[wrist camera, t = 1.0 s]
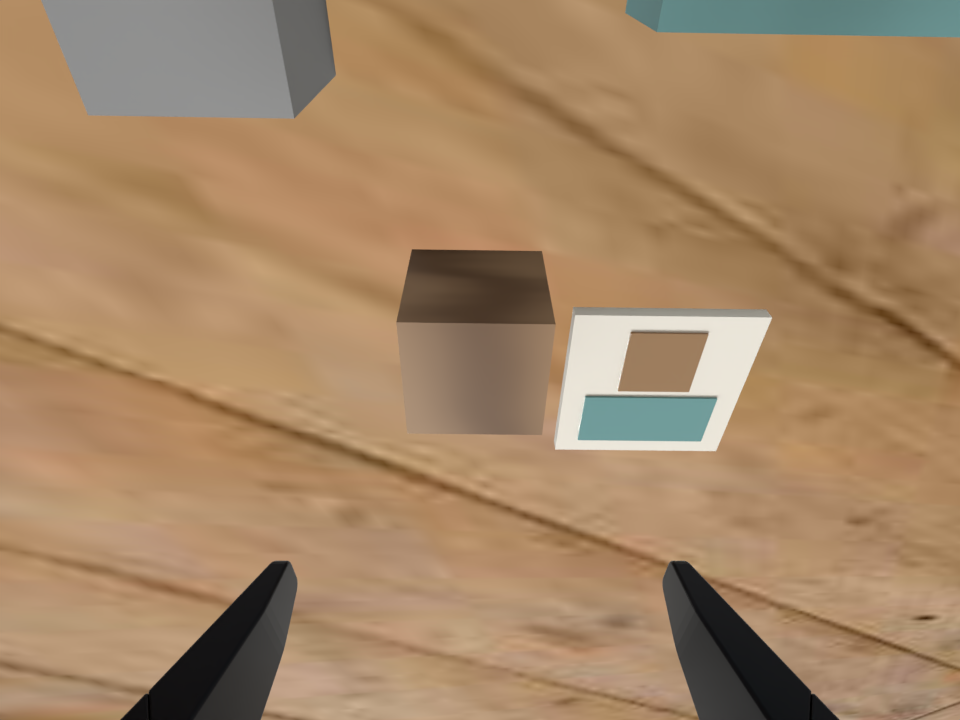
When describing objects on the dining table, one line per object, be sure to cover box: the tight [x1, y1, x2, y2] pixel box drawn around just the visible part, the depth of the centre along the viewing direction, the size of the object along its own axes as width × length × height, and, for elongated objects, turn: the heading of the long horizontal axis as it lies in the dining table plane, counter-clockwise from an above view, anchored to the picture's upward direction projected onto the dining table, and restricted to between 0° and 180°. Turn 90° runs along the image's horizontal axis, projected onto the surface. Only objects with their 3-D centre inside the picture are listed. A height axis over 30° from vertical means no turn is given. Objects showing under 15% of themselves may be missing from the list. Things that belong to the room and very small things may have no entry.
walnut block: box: [396, 249, 556, 435], centre depth 21 cm, size 5×5×5 cm
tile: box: [554, 307, 772, 451], centre depth 25 cm, size 8×8×1 cm
